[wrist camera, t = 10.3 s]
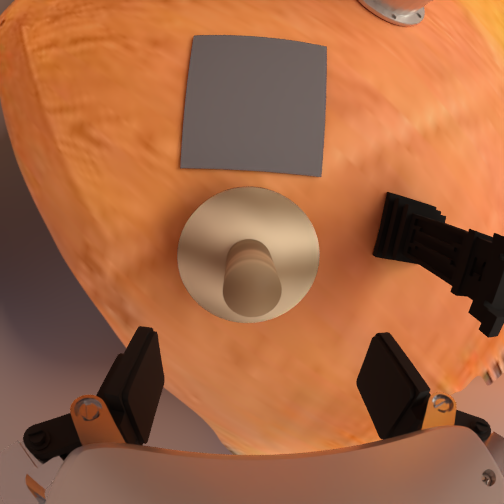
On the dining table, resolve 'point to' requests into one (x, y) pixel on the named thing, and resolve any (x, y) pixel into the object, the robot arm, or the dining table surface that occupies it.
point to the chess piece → (447, 255)
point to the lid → (248, 254)
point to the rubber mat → (255, 105)
